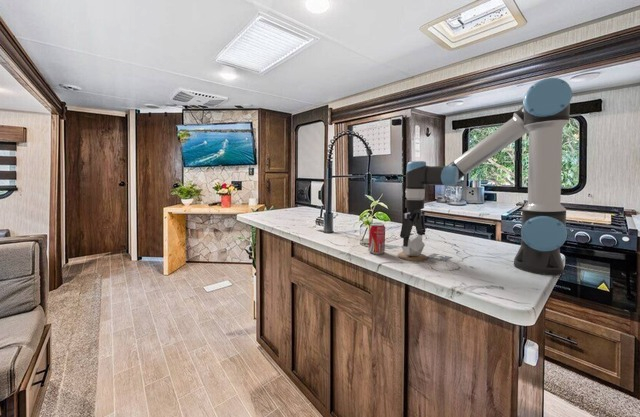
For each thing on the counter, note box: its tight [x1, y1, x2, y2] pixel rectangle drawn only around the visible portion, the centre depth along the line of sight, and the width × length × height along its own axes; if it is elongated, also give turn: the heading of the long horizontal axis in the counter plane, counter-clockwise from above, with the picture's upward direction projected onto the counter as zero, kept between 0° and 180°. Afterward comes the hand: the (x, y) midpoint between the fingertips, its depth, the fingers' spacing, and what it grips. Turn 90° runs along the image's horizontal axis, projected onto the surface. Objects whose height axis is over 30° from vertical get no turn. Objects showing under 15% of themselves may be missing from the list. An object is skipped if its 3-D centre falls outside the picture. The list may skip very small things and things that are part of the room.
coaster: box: [397, 251, 428, 262], centre depth 125 cm, size 12×12×1 cm
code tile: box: [426, 252, 453, 262], centre depth 125 cm, size 8×8×1 cm
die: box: [400, 235, 425, 256], centre depth 125 cm, size 8×9×10 cm
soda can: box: [368, 222, 386, 255], centre depth 131 cm, size 7×7×13 cm
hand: (412, 251), depth 125 cm, fingers closed on die, 9 cm apart
